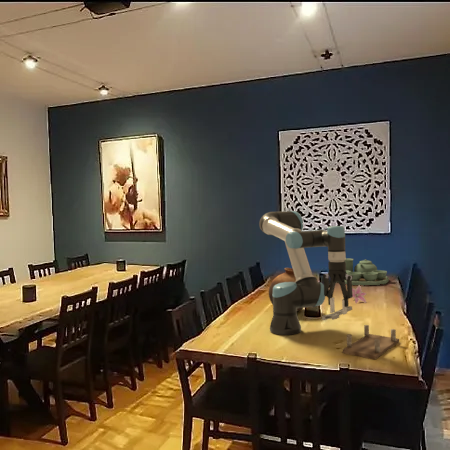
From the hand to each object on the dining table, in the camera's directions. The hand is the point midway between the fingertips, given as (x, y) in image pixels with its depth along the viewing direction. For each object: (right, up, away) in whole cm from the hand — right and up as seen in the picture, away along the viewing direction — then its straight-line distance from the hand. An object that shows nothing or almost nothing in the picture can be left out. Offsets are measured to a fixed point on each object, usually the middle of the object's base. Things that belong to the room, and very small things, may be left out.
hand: (338, 313), depth 205 cm
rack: (+12, -13, -8) cm, 20 cm away
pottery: (-13, -11, +60) cm, 63 cm away
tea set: (+54, -5, +148) cm, 158 cm away
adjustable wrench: (+1, -1, 0) cm, 1 cm away
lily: (+31, -9, +79) cm, 86 cm away
